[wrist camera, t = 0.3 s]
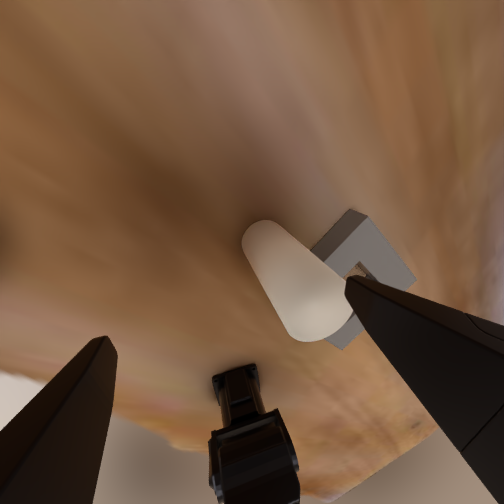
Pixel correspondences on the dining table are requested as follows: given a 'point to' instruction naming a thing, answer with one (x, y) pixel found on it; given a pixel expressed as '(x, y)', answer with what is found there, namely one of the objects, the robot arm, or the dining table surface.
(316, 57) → the dining table surface
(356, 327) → the collar block
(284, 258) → the peg
